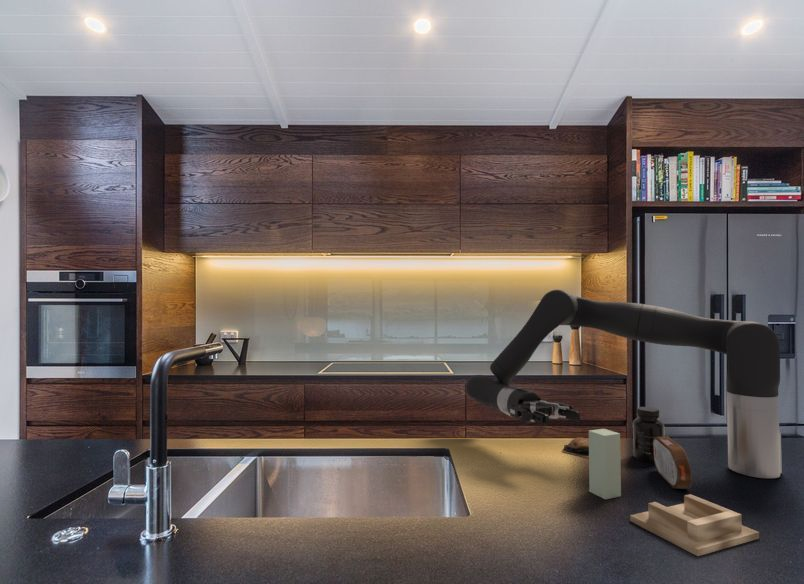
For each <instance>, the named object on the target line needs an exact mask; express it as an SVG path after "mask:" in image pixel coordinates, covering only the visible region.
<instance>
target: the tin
mask: <svg viewBox="0 0 804 584" xmlns="http://www.w3.org/2000/svg"><path fill="white" fill-rule="evenodd" d="M653 450H654V462H655V463H654V465H655V467H656V471H657V472H658V474H659V475H660V476H661V477H662V478H663V480H665V481H666V482H667V483H668V484H669V485H670V487H671V488H673V489H677V490H690V488H691V487H692V481H693V480H692V475H693V474H692V468H691V463H690V460H689V457H688V455H687V453H686V451H685V449H684V448H683V447H682V446H681V445H680V444H679V443H677V442H676V441H675V440H674V439H673V438H671V437H670V436H668V435H666V436H665V437H655V438H654V439H653Z"/></svg>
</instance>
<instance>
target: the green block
mask: <svg viewBox="0 0 804 584" xmlns="http://www.w3.org/2000/svg"><path fill="white" fill-rule="evenodd" d="M588 440H589V459H588V467H589V468H588V474H589V476H588V478H589V479H588V481H589V484H588V485H589V486H588V487H589V493H591V494H594V495H595V496H598V497H600V498H602V499H603V500H609V499H613V498H618V497H621V496H622V478H621V475H622V474H621V473H622V472H621V471H622V470H621V469H622V467H621V463H622V462H621V433H619V432H616V431H613V430H610V429H606V428H600V429H599V428H598V429H590V430H588Z"/></svg>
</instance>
